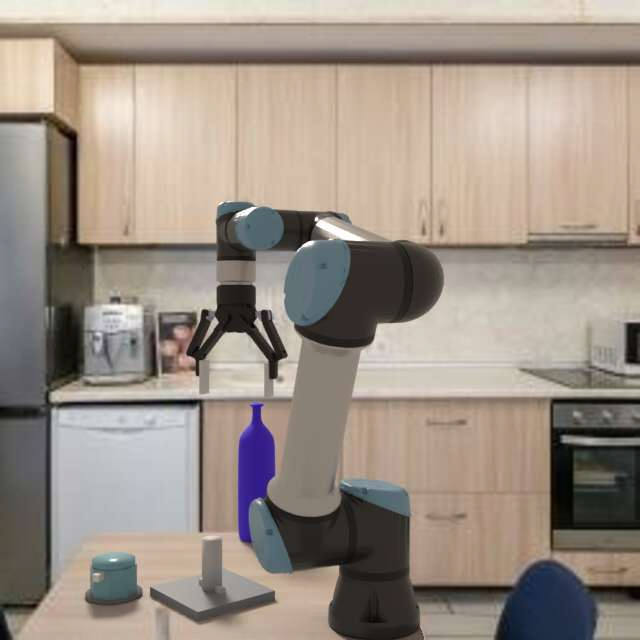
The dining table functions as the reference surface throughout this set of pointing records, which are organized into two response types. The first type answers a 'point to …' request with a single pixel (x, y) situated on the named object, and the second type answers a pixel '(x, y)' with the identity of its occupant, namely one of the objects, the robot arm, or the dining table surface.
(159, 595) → the stand
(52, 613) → the dining table surface
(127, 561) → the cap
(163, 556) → the dining table surface
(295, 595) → the dining table surface
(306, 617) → the dining table surface
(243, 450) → the bottle
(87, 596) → the mat
